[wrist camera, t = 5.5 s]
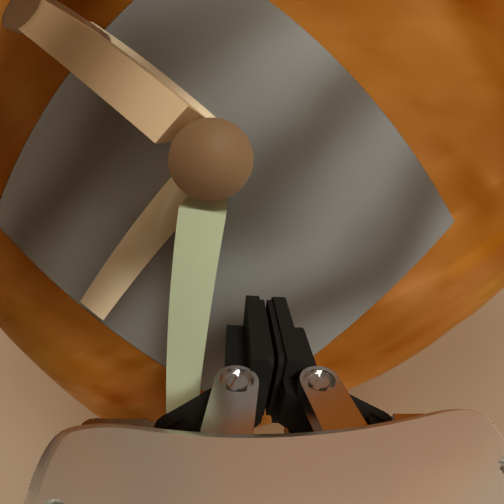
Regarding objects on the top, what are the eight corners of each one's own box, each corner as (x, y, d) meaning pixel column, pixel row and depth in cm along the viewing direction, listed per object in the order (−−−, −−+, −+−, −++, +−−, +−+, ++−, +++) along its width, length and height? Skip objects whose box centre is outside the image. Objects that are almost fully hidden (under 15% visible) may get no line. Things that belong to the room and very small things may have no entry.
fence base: (-12, 207, 13) (-87, 246, 6) (179, -50, 8) (154, -128, 2) (237, 404, 19) (241, 488, 13) (450, 219, 15) (531, 265, 9)
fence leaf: (200, 176, 13) (173, 208, 7) (232, 181, 13) (230, 217, 7) (180, 351, 16) (163, 439, 10) (203, 355, 16) (195, 443, 11)
